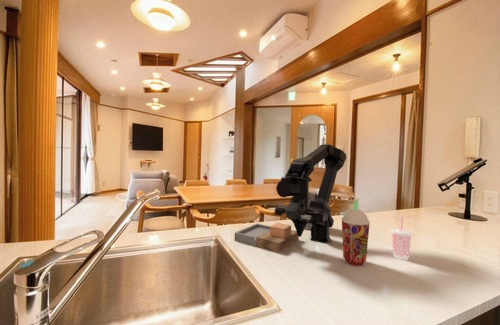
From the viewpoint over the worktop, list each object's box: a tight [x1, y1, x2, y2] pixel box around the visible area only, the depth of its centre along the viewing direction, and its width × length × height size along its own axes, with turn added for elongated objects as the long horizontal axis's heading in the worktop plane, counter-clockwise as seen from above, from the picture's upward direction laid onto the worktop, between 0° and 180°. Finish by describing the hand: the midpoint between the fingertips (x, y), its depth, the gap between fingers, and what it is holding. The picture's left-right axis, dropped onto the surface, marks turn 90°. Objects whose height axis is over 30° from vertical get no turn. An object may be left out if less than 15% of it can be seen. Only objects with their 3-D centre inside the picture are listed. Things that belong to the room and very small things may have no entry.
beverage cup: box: [390, 215, 413, 260], centre depth 83 cm, size 6×6×14 cm
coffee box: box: [304, 191, 318, 230], centre depth 116 cm, size 9×6×16 cm
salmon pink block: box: [269, 222, 292, 238], centre depth 94 cm, size 6×6×4 cm
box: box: [234, 223, 271, 247], centre depth 101 cm, size 10×16×3 cm, turn 145°
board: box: [255, 229, 300, 254], centre depth 95 cm, size 10×16×4 cm, turn 145°
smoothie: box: [341, 200, 371, 267], centre depth 78 cm, size 8×8×20 cm
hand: (299, 236), depth 90 cm, fingers closed
